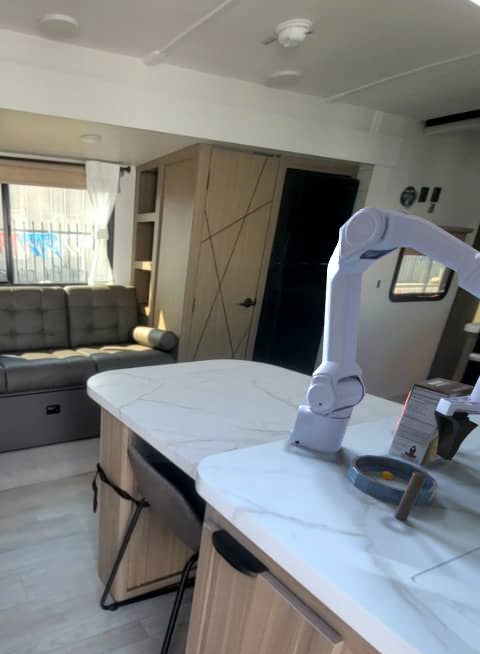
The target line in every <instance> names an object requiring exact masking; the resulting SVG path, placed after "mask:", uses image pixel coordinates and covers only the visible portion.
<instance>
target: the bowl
mask: <svg viewBox="0 0 480 654" xmlns="http://www.w3.org/2000/svg"><path fill="white" fill-rule="evenodd" d="M384 471H387V472H390V473H391V474H392V475H393V477H396V478H400V479H402V480H403V481H406V482H408V483H409V481H410V479H411V477H412V474H413V472H420V473H423V474H425V475H426V476H427V477H426V479H425V482H424V484H423V486H422V488H421V490H420V493H419V495H418V497H417V499H416V501H415V503H414V506H413V508H414V507H415V508H417V507H421V506H422V507H423V506H427V505H428V504H430V502H432V500H433V498H434V496H435V494H436V492H437V489H439V488H438V487H439V486H438V483H437V480H436V479H435V478H434V477H433V476H432V475H431V474H429V473H428V472H427V471H425V470H423V469H421V468H419V467H417V466H415V465H414V464H411V463H409V462H406V461H403V460H400V459H397V458H393V457H388V456H383V455H376V454H375V455H374V454H365V455H364V454H363V455H357V456H356V457H354V458H353V459H351V461H350V464H349V465H348V469H347V472H346V474H347V475H346V476H347V477H346V478H347V480H348V481H349V482H350V484H351V485H352V486H354V487H355V488H356V489H358V490H359V491H361V492H362V493H364V494H366V495H368V496H371V497H372V498H375V499H377V500H379V501H382V502H385V503H389V504H393V505H397V506H399V504H400V502H401V499H402V497H403V495H404V492H405V490H406V489H401V488H397V487H394V486H389V485H386V484H384V483H381V482H380V481H379V482H380V483H379V482H377V481H374V480H375V479H372V478H371V477H369V476H367V475H366V474H364V473H363V472H378V473H382V472H384Z"/></svg>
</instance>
